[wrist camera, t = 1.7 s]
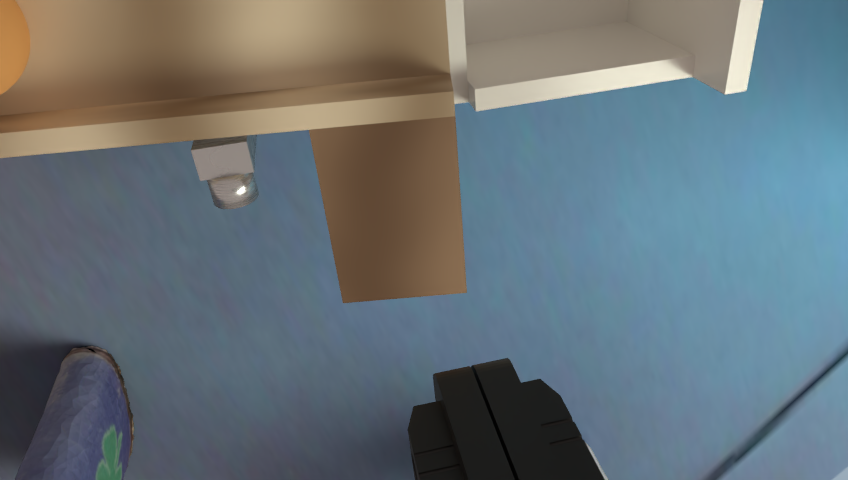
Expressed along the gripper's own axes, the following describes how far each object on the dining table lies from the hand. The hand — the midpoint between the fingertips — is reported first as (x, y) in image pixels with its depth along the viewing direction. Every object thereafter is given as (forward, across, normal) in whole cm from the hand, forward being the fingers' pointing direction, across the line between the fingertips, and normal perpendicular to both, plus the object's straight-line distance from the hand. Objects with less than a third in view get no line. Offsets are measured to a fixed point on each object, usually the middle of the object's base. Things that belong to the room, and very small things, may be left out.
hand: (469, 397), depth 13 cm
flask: (+18, +16, +15) cm, 28 cm away
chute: (+13, +5, -3) cm, 14 cm away
